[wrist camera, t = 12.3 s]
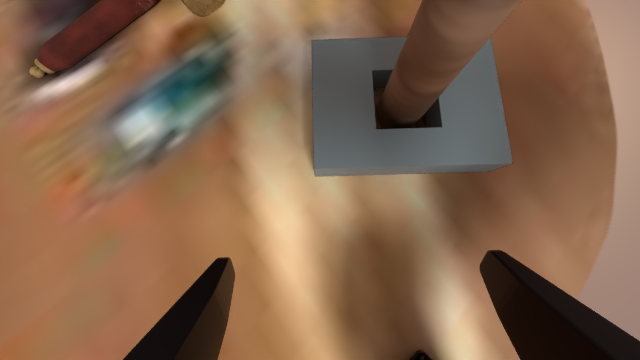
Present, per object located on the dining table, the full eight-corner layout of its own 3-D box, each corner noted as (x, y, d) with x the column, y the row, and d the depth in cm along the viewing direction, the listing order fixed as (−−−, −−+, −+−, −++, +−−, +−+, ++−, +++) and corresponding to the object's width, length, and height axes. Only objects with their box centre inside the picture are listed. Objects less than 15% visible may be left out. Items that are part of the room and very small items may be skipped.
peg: (425, 114, 24) (581, -63, 10) (397, 142, 24) (516, 0, 9) (395, 87, 25) (496, -118, 10) (367, 114, 24) (431, -61, 10)
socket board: (489, 171, 23) (513, 163, 20) (315, 176, 23) (314, 168, 20) (470, 56, 25) (490, 33, 22) (313, 61, 26) (311, 40, 23)
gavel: (27, 99, 22) (-20, 25, 24) (79, 119, 27) (37, 56, 28) (213, -43, 23) (156, -105, 25) (233, 0, 28) (184, -55, 29)
